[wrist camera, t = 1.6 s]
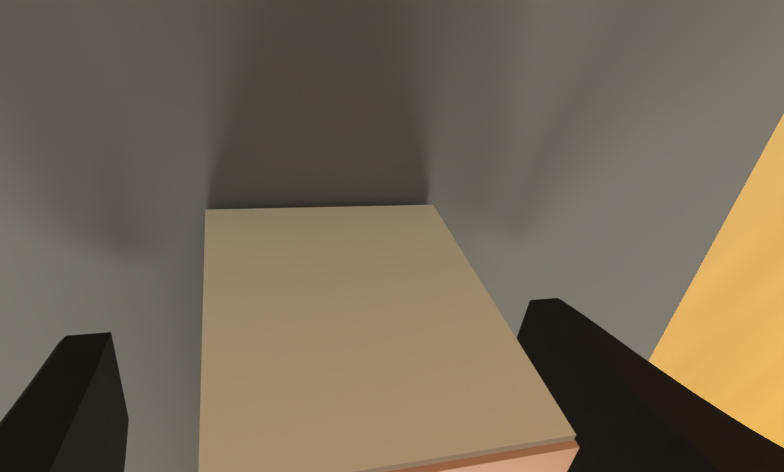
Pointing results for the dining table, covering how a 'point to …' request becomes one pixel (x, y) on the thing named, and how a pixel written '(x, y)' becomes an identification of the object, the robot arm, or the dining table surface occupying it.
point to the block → (362, 350)
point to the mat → (362, 157)
